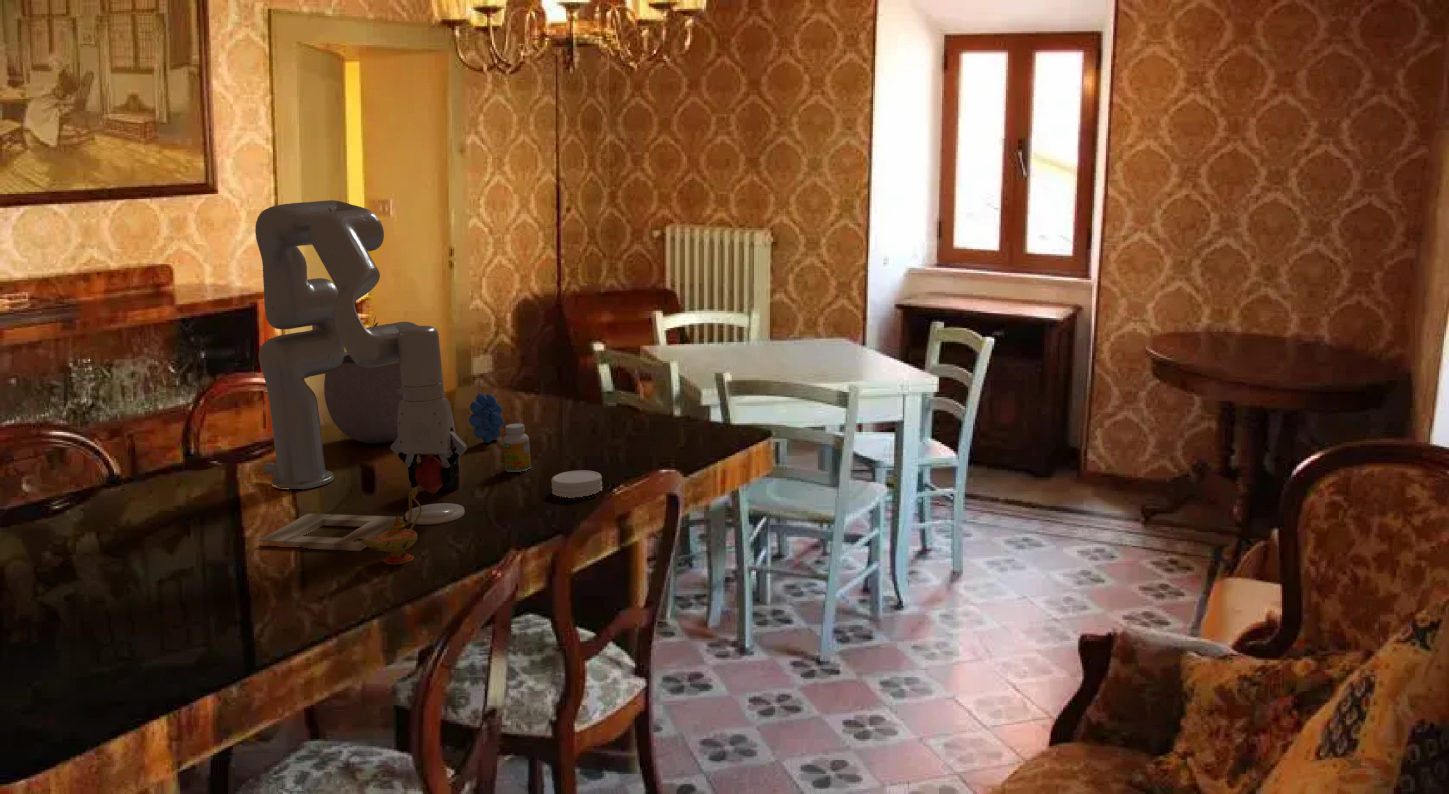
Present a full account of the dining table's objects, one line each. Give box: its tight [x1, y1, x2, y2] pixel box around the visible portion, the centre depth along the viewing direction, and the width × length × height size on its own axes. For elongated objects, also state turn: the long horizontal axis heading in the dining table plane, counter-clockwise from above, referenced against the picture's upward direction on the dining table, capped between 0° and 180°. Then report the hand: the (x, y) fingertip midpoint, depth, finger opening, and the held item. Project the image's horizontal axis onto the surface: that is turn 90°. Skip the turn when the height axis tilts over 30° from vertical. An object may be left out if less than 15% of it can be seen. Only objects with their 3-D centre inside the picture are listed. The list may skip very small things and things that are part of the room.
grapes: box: [468, 393, 505, 444], centre depth 304 cm, size 12×7×12 cm, turn 154°
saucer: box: [404, 502, 465, 526], centre depth 250 cm, size 11×11×1 cm
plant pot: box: [323, 316, 403, 445], centre depth 309 cm, size 24×24×30 cm
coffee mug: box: [418, 447, 461, 494], centre depth 268 cm, size 12×9×10 cm
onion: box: [415, 455, 444, 495], centre depth 248 cm, size 6×6×8 cm
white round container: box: [550, 469, 603, 498], centre depth 261 cm, size 10×10×4 cm
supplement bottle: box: [502, 423, 532, 473], centre depth 279 cm, size 5×5×10 cm
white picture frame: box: [258, 513, 404, 552], centre depth 241 cm, size 20×16×1 cm
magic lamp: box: [353, 487, 422, 565], centre depth 223 cm, size 7×18×11 cm, turn 156°
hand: (432, 485), depth 248 cm, fingers closed on onion, 5 cm apart
